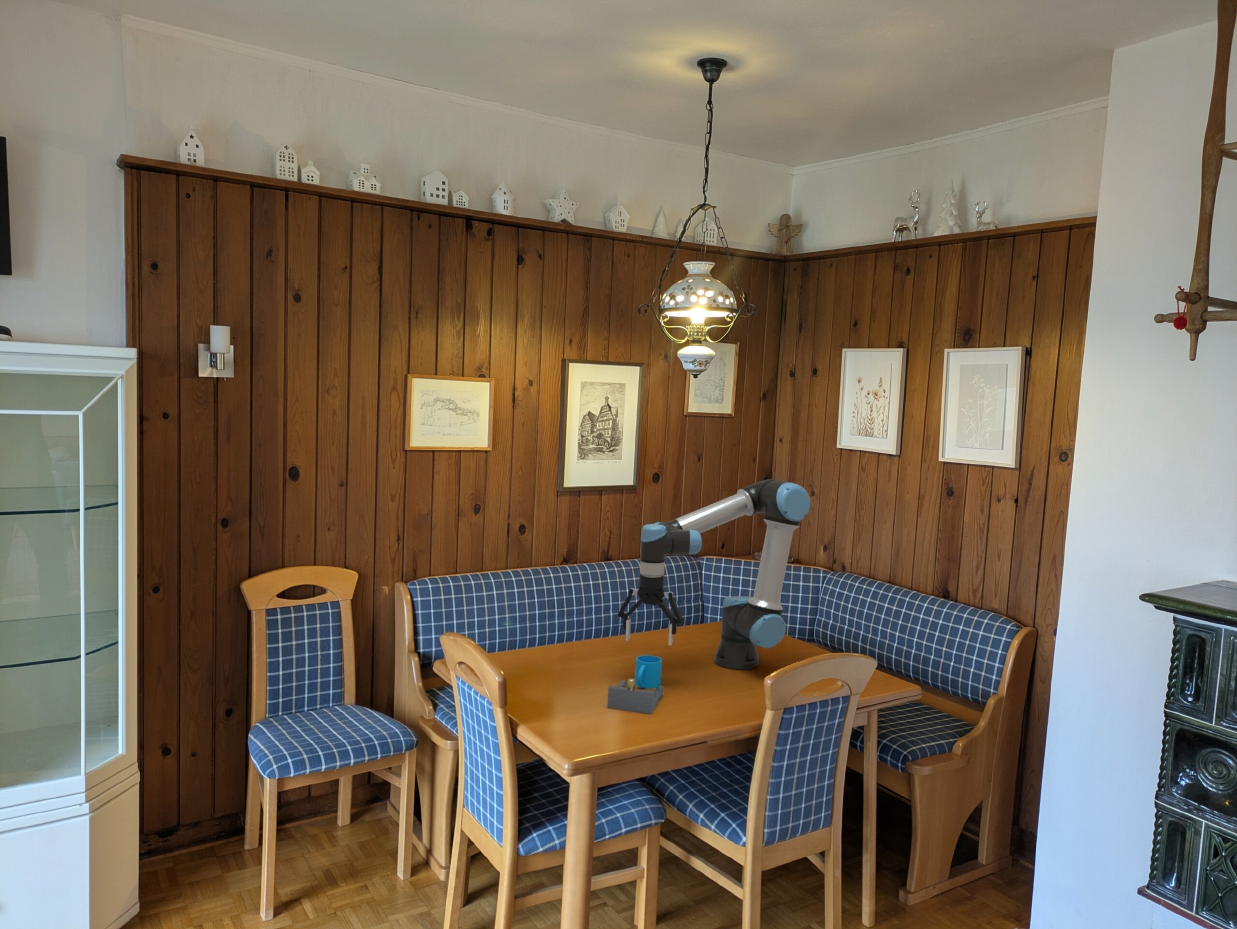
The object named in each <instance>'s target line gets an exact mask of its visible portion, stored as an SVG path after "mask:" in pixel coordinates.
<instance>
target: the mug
mask: <svg viewBox="0 0 1237 929" xmlns="http://www.w3.org/2000/svg"><path fill="white" fill-rule="evenodd" d="M662 664H663V659H662V658H661V657H660V656H656V655H647V654H644V655H639V656H636V658H635V671H634V672H635V674H634V675H635V676H634V679H635V687H638V688H640V689H644V690H652V689H654V690H656V688H657V686H658V685H662V668H663V667H662V666H663V665H662Z"/></svg>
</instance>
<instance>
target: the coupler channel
mask: <svg viewBox="0 0 1237 929" xmlns="http://www.w3.org/2000/svg"><path fill="white" fill-rule="evenodd" d="M635 687H636V685H635V678H632V677H631V678H630V677H629V678H627V680H623V679H622V680H620V682H619V683H618V684H617V685H609V686H608V688H607V708H608V709H613V710H618V711H619V710H620V711H626V712H627V711H628V712H634V713H643V714H649V715H652V714H653V712H654V710H656V709H655V708H656V707H657V706H658V704H659V702H660V701H661V698H662V697H663V695H664V685H662V684H661V685H658V686H657V688H655V689H654V690H648V689H639V688H635Z"/></svg>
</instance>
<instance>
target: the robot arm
mask: <svg viewBox="0 0 1237 929" xmlns="http://www.w3.org/2000/svg"><path fill="white" fill-rule="evenodd" d="M810 509H811V499H810V495H809V493H808V492H807V490H806V489H805V488H804V487H803V486H801V485H800V484H796V483H793V482H788V481H783V480H778V479H773V478H772V479H771V478H770V479H769V478H768V479H763V480H760V481H757V482H754V483H752V484H750V485H747V486H745V487H742V488H740V489H738V490H737V492H736V494H733V495H731V496H728V497H725V498H723V499H720V500H718V501H716V502H714V503H712V504H709V505H707V506H704V507H702V508H701V507H700V508H699V509H696V510H693V511H691V512H689V513H686V514H684V515H681V516H680V517H677V518H674V519H672V520H668V521H667V522H663V521H658V522H655V523H648V524H645V525H643V527H642V528H641V535H640V561H639V562H640V563H639V573H640V575H639V582H638V583H639V585H638V588H637V589H636V588H635V587H632V586H631V587H630V588H629V589H628V593H627V597H626V598H625V601H624V602H623V604H622V606H621V608H620V609H619V611H618V613H617V617H618V618H622V620H623V621H622V623H623V624H622V628H623V630H625V641H626V642H627V641H630V639H631V627H632V626H631V625H632V624H631V623H632V622H631V620H632V618H631V617H630V616H631V615H632V614H633V613H634V612H635V611H636V610H637V609H638V607H639V606H641V604H644V605H651V606H656V605H657V606H658V607H659V608H660V609H661V611H662V612H663V613H664V615H665V616H666V618H667V619H668V620H669V622H670V623H669V624H668V625H669V627H668V646H672V645H673V642H674V641H673V640H674V635H676V634H677V628H678V626H677V625H678V624H681V623H682V622H683V621H684V618H683V615H682V614H681V612H680V609H679V607H678V604H677V603H676V600H675V594H674V593H675V592H674V591H672V590H671V591H666V592H665V590H664V584H665V576H664V574H665V564H666V563H665V560H666V556H683V555H685V556H686V555H688V556H691V555H697V554H699V553H700V551H701V550H702V546H703V545H702V544H703V540H702V536H701V533H705V532H706V531H708V530H712V529H714V528H716V527H718V526H721V525H724V524H726V523H728V522H731V521H733V520H736V519H738V518H740V517H743V516H748V517H751V516H754V515H756V514H764V516H763V521H764V522H765V524H766V531H765V535H764V536H765V537H764V540H763V545H762V546H763V547H762V552H761V557H760V561H759V567H758V571H757V576H756V577H757V578H756V582H755V587H754V592H753V596H744V595H743V596H742V595H741V596H739V595H737V596H728V597H725V598H724V599H723V603H722V607H721V609H722V611H721V612H722V615H721V631H720V641H719V644H718V646H717V648H716V651H715V653H714V662H715V664H716V665H718V666H720V667H723V668H727V669H731V670H741V671H743V670H745V671H746V670H752V668H753V669H756V668H757V666H758V665H759V664H760V657H759V653H758V650H757V646H758V647H761V648H764V649H771V648H772V647H773V648H774V647H775V646H776V645H778V644H779V643H781V641H782V640H783V638H784V637H785V634H786V632H787V624H786V622H785V620H784V618H783V617H782V615H783V610H784V607H783V605H782V604H781V602H780V601H781V596H782V590H783V586H784V580H785V576H786V571H787V565H788V560H789V555H790V551H791V544H792V540H793V534H794V531H795V530H796V529H798V528H799V527H800V524H801V520H804V519H805V517H806V516H808V514H809V512H810ZM636 594H637V595H638V597H639V600H638V601H636V603H634V604H633V606H632V607H631V608H630V609H629V610H628V611H627V612H626V613H625V611H626V610H627V608H628V606H629V604H630V603H631V601H632V599H633V597H635V596H636ZM664 597H665V598H666V599H667V600H668V602H669V604H670V607H671V610H672V611H673V612H672V611H671V610H670V608H669V607H668V606H667V605H666V603H665V601H664V600H663V598H664ZM755 667H756V668H755Z"/></svg>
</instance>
